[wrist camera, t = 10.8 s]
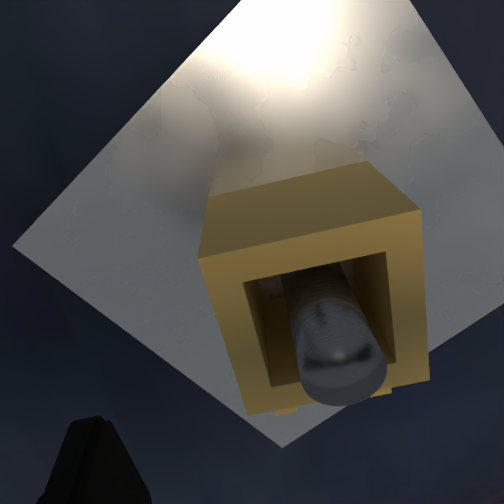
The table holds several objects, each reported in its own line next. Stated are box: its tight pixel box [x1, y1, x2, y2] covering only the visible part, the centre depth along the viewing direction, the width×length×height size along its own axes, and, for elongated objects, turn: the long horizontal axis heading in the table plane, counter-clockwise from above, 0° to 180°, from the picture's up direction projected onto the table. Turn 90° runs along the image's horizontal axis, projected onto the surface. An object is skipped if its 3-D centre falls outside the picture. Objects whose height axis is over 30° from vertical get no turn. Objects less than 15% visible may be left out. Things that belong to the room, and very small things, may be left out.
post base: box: [13, 0, 504, 448], centre depth 14 cm, size 16×16×8 cm
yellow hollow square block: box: [197, 161, 430, 416], centre depth 16 cm, size 10×6×5 cm, turn 13°
